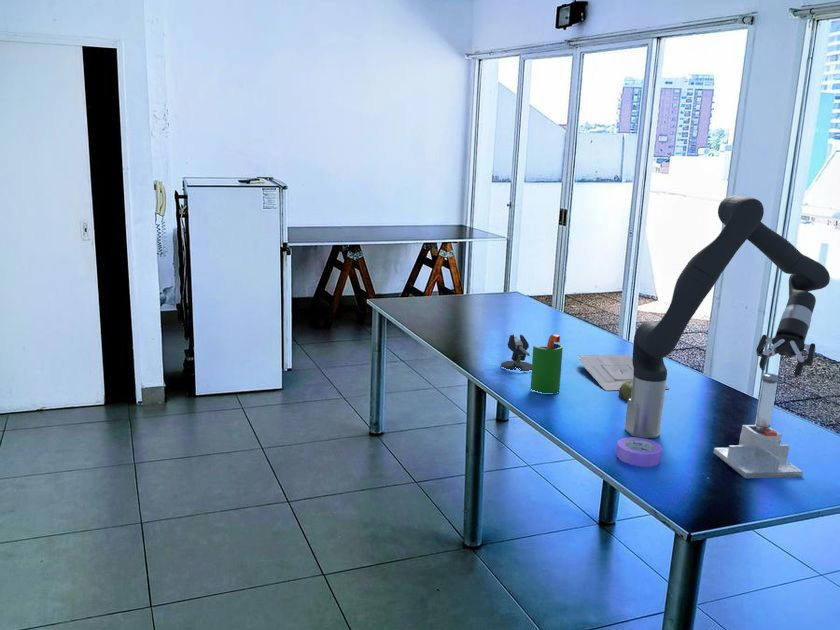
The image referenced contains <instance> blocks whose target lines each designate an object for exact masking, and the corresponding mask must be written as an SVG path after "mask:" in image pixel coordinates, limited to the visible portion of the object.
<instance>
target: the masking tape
mask: <svg viewBox="0 0 840 630" xmlns="http://www.w3.org/2000/svg"><path fill="white" fill-rule="evenodd" d="M616 445H617V447H616V453H615V454H616V455H617V456H616V455H615V456H616V457H618V458H619V459H618V460H619V461H622V462H623V463H625V462H626V463H625V464H627V463H628V465H631V466H634V465H635V466H634V467H641V468H642V467H643V468H644V467H645V468H652V467H656V466H658V465H660V464H661V462H662V454H663V452H662V451H663V448H662V446H661V445H660V444H659V443H658V442H657V441H654V440H650V439H649V438H642V437H637V436H632V437H631V436H630V437H623V438H621V439H619V440H618V441H617V444H616Z"/></svg>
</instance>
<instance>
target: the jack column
mask: <svg viewBox="0 0 840 630" xmlns="http://www.w3.org/2000/svg"><path fill="white" fill-rule="evenodd" d="M779 378H780V377H779V375H777V374H775V373H769V372H763V373H762V374H761V385H760V391H759V397H758V403H757V411H756V417H755V422H754V425H755V429H754V431H755V432H757V433H758V434H763V430H769V429H770V427H771V422H772V415H773V411H774V405H775V404H774V403H775V398H776V396H775V395H776V393H777V392H776V391H777V384H778V382H779Z"/></svg>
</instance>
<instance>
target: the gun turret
mask: <svg viewBox="0 0 840 630" xmlns="http://www.w3.org/2000/svg"><path fill="white" fill-rule="evenodd" d="M529 346H530V345H529V342H528V340H527V339H526V337H525V336H524V335H523V334H519V338H518V337H517V336H515V334H514V333H513V334H509V337H508V342H507V348H508V349H509V350H510V351H511V352H512V354H511V358H510V359H511V360H505V361H503V362H501V363H500V368H501V367H504V368H506V369H510V370H513V369H514V370H516V368H518V369H519V368H520V369H521V370H520V369H519V370H520V371H529V370H532V363H529V362H527V361H525V360H526V357H530V356H531V355H530V353H529V351H528V349H529ZM515 367H516V368H515Z"/></svg>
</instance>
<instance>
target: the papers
mask: <svg viewBox="0 0 840 630" xmlns="http://www.w3.org/2000/svg"><path fill="white" fill-rule="evenodd" d="M577 356H578V361H579V362H580V364H581V365H582V367H583V368H585V370H586V371H587V372H588V373H589V374H590V375H591V376H592V378H593V379H595V380H596V382H597V383H598V384H599V386H601V388H602V389H604V391H619V389H620V387H621V386H622V384H623V383H625V382H627V381H632V380H633V374H634V368H633V363H632V358H633V356H631V355H630V354H594V355H593V354H591V355H589V354H586V355H585V354H584V355H582V354H580V355H578V354H577ZM665 390H670V388H669V387H668V386H667V385H666V387H665Z"/></svg>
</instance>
